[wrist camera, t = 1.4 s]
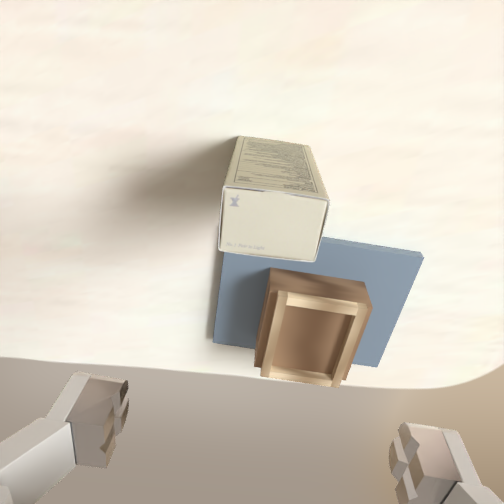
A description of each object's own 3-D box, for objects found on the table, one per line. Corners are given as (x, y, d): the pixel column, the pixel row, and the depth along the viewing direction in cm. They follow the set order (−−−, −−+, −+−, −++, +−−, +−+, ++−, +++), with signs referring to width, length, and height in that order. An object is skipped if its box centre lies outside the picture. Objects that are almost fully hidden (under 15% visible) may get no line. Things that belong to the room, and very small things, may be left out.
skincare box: (232, 183, 34) (212, 253, 24) (238, 132, 32) (218, 183, 22) (304, 193, 34) (315, 267, 24) (314, 143, 32) (331, 199, 22)
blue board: (213, 336, 43) (212, 342, 42) (228, 222, 36) (227, 226, 35) (375, 360, 44) (377, 367, 43) (420, 252, 37) (424, 257, 36)
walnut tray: (255, 340, 42) (253, 375, 38) (271, 264, 37) (270, 294, 33) (339, 353, 42) (345, 389, 38) (365, 279, 37) (375, 311, 33)
